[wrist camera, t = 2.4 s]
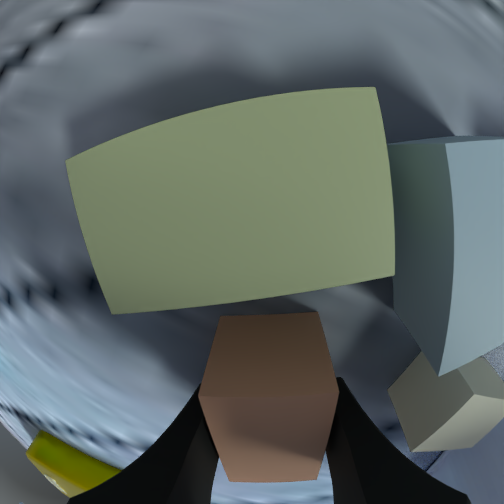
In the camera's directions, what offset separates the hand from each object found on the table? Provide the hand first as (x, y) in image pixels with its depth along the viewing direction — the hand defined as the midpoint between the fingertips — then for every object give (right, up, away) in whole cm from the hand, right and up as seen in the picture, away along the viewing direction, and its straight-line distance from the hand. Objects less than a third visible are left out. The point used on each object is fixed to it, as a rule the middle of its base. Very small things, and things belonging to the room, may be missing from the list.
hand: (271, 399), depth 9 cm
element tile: (-17, -20, +10) cm, 28 cm away
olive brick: (-1, +8, -1) cm, 8 cm away
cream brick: (+9, -1, +1) cm, 9 cm away
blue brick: (+6, +7, -1) cm, 9 cm away
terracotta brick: (0, +1, +1) cm, 2 cm away
